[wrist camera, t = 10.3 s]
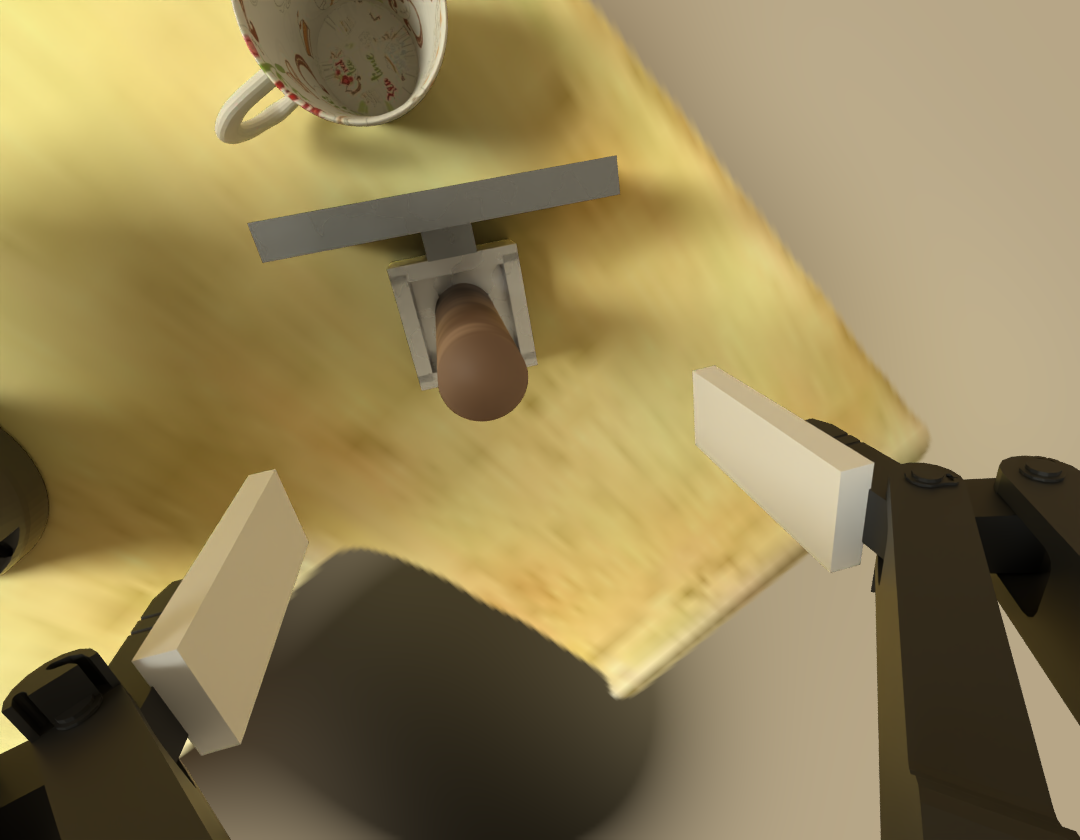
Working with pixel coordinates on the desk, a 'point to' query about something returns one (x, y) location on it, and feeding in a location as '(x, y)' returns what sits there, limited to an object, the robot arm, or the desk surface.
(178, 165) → the desk surface
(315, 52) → the mug
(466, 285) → the handle
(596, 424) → the desk surface
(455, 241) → the bracket
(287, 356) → the desk surface
